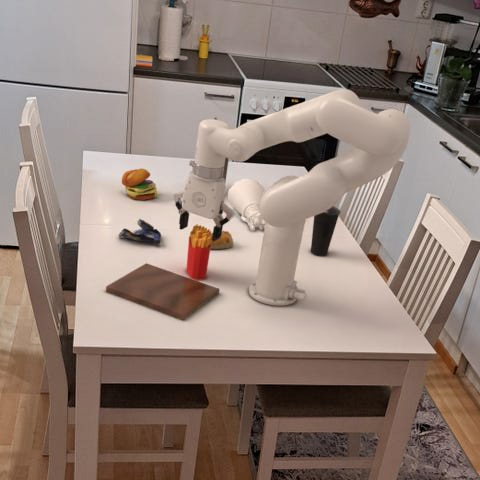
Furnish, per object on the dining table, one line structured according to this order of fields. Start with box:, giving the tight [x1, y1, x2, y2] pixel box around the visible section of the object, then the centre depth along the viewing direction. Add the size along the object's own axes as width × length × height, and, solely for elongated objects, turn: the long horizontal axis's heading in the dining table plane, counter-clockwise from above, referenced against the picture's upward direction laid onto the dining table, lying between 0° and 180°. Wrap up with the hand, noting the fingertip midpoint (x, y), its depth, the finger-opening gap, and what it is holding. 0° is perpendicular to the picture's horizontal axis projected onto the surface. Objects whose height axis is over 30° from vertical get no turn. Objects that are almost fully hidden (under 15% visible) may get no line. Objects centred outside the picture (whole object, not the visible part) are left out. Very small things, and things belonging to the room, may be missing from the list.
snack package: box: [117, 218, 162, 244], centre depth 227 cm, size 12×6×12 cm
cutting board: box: [105, 263, 220, 321], centre depth 200 cm, size 22×18×2 cm
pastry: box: [210, 230, 234, 250], centre depth 230 cm, size 9×7×4 cm
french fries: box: [185, 223, 212, 281], centre depth 210 cm, size 9×4×13 cm, turn 22°
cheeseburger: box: [121, 167, 158, 201], centre depth 257 cm, size 10×11×10 cm
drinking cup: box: [310, 205, 341, 257], centre depth 232 cm, size 8×8×20 cm
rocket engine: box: [227, 178, 266, 232], centre depth 250 cm, size 12×12×18 cm
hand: (199, 233), depth 207 cm, fingers open, 9 cm apart
